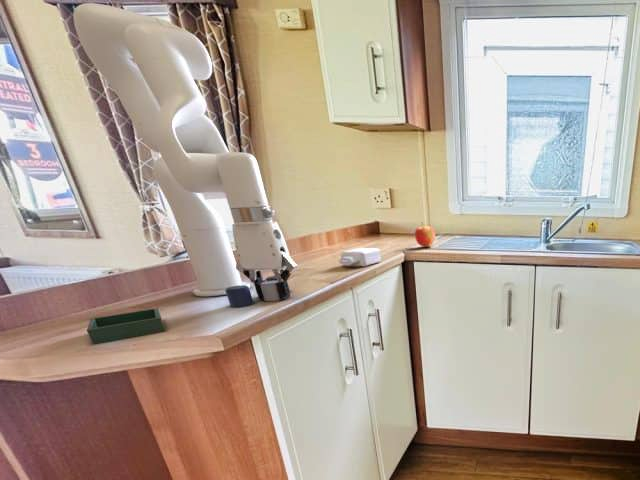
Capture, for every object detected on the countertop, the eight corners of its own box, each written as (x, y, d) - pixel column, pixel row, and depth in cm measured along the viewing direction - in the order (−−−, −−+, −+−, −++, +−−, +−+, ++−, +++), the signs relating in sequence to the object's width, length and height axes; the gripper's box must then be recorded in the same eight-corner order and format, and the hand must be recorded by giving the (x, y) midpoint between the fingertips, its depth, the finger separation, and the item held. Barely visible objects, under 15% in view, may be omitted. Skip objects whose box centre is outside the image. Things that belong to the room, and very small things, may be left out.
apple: (439, 246, 179) (437, 221, 174) (424, 248, 173) (421, 222, 169) (428, 245, 184) (425, 220, 180) (413, 247, 179) (409, 222, 174)
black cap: (267, 293, 107) (263, 277, 105) (287, 290, 109) (283, 274, 108) (272, 296, 104) (267, 279, 102) (292, 292, 106) (287, 276, 104)
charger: (330, 269, 135) (359, 261, 148) (354, 270, 133) (381, 262, 145) (327, 254, 133) (356, 247, 146) (351, 254, 131) (379, 247, 143)
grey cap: (262, 299, 101) (257, 282, 99) (283, 295, 103) (278, 279, 102) (266, 302, 98) (261, 285, 96) (288, 298, 100) (283, 281, 98)
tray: (97, 331, 81) (90, 318, 80) (162, 320, 87) (157, 307, 86) (93, 344, 74) (86, 330, 73) (165, 331, 80) (159, 317, 79)
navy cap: (229, 304, 97) (223, 287, 95) (251, 301, 99) (246, 284, 98) (232, 308, 94) (226, 290, 92) (255, 304, 96) (250, 287, 95)
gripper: (297, 214, 95) (316, 294, 103) (228, 216, 97) (252, 295, 105) (278, 216, 88) (299, 301, 96) (204, 218, 90) (231, 302, 98)
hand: (274, 297), depth 100 cm, fingers closed on grey cap, 4 cm apart
